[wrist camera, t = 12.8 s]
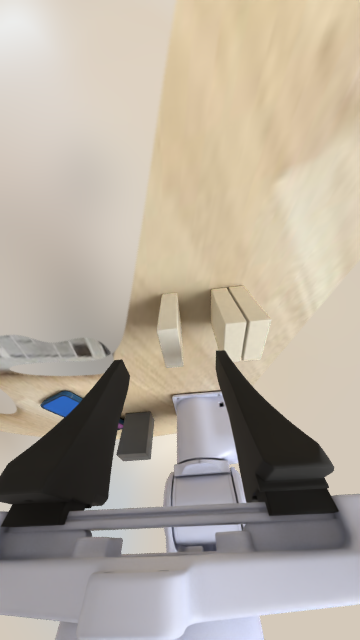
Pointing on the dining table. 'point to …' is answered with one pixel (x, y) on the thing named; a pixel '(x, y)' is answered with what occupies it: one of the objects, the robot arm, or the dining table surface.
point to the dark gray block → (136, 437)
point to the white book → (170, 331)
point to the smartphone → (66, 404)
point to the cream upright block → (238, 323)
